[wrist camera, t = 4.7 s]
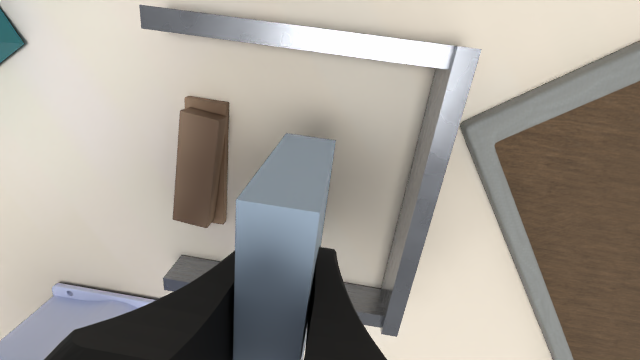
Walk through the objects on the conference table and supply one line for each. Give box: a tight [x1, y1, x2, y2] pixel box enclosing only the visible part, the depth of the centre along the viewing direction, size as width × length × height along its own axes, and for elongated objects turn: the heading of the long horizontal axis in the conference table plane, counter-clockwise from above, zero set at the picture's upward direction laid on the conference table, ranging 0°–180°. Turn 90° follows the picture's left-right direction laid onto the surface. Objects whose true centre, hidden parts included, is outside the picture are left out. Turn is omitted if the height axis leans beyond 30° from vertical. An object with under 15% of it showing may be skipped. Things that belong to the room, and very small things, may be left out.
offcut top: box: [173, 107, 227, 228], centre depth 20 cm, size 2×7×1 cm, turn 166°
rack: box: [139, 5, 481, 337], centre depth 19 cm, size 16×17×3 cm
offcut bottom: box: [185, 96, 229, 224], centre depth 21 cm, size 2×8×1 cm, turn 172°
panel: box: [233, 133, 336, 360], centre depth 12 cm, size 2×9×6 cm, turn 173°
